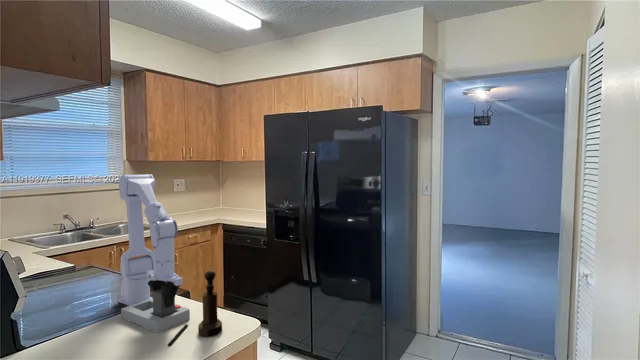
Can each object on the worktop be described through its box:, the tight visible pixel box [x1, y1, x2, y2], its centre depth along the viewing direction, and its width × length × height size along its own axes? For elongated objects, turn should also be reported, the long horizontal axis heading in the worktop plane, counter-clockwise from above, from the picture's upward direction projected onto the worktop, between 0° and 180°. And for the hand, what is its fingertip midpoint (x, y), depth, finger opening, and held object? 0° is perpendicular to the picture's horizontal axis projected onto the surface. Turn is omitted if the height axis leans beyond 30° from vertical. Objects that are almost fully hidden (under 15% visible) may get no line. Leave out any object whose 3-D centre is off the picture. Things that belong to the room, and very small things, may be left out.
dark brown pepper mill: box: [197, 268, 223, 338], centre depth 101 cm, size 7×6×18 cm
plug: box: [152, 289, 176, 317], centre depth 107 cm, size 4×4×7 cm
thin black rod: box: [167, 323, 189, 347], centre depth 100 cm, size 12×1×1 cm, turn 179°
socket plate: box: [120, 297, 191, 333], centre depth 110 cm, size 18×11×4 cm, turn 59°
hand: (164, 304), depth 108 cm, fingers closed on plug, 4 cm apart
